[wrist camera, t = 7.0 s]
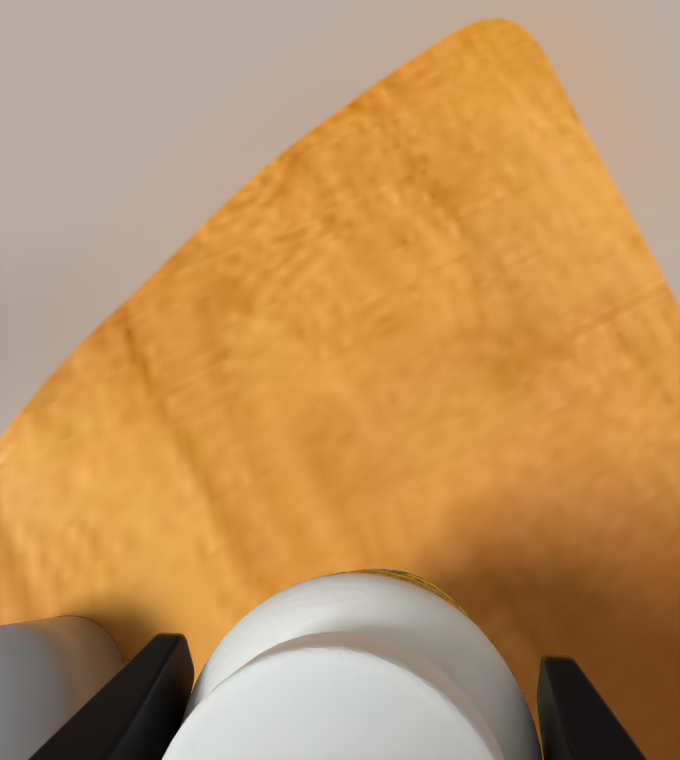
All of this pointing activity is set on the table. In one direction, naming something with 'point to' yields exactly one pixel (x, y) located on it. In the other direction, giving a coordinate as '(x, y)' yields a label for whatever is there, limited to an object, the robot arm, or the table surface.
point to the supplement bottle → (356, 680)
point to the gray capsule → (49, 677)
